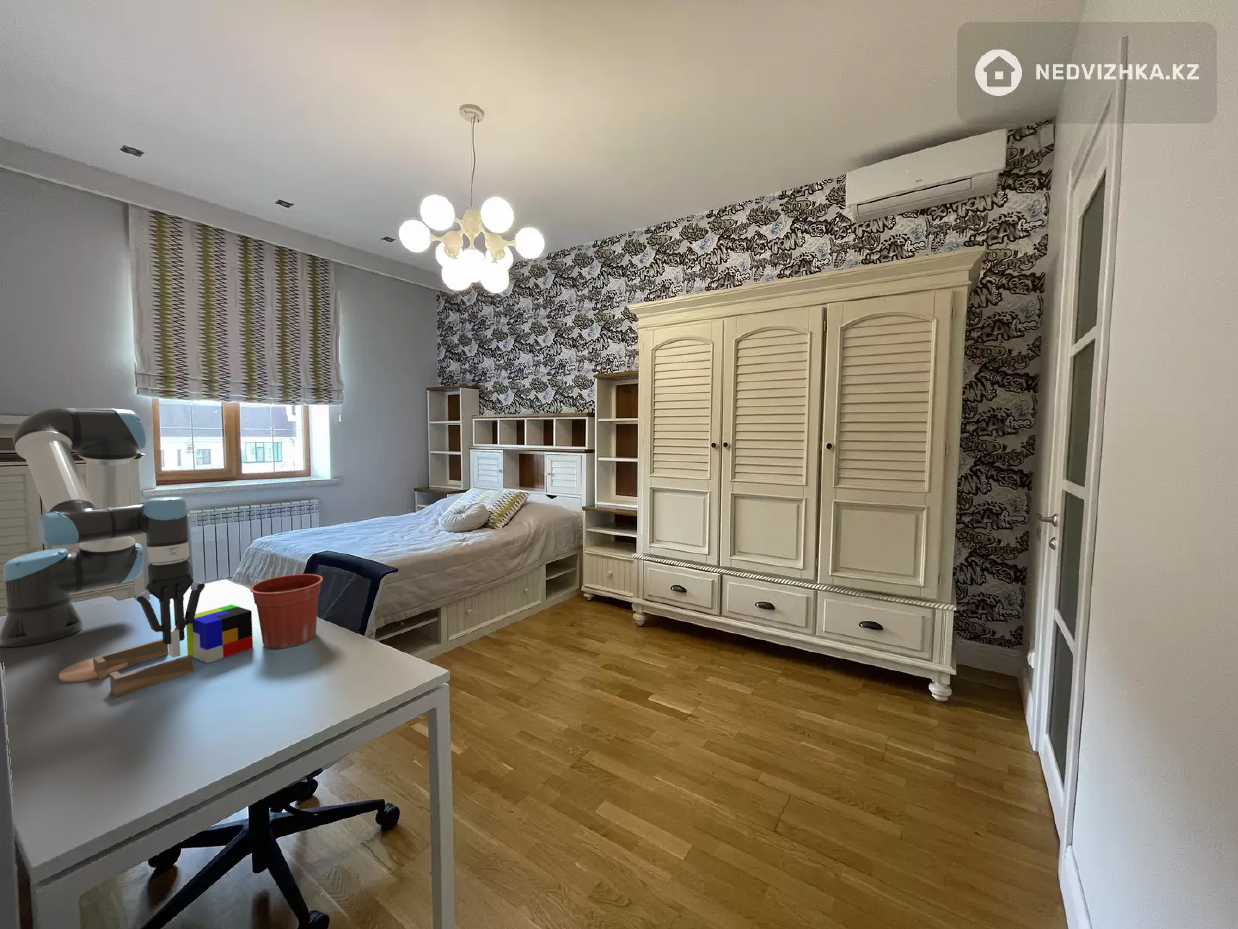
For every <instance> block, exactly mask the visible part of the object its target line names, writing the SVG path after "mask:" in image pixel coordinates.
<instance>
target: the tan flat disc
mask: <svg viewBox="0 0 1238 929" xmlns="http://www.w3.org/2000/svg"><path fill="white" fill-rule="evenodd" d="M93 658H94V657H92V658H88V659H85V660H82V661H79V662H76V663H73V664H72V665H71V664H70V665H69V666H67V667H65V668H64V669H62V670H61V671H59V673H58V679H59V681H60V682H63V683H76V682H77V683H78V682H85V681H90V680H94V679H99V678H98V674H97V673H96V672H95V671H94V665H93ZM126 667H129V666H128V662H126V663H122V664H119V665H116V666H112V667H109V668H106V671H107V676H110V673H113V672H117V671H118V672H119V671H121V670H124V669H125V668H126Z"/></svg>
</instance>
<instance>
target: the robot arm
mask: <svg viewBox="0 0 1238 929" xmlns="http://www.w3.org/2000/svg"><path fill="white" fill-rule="evenodd" d="M146 437H147V436H146V432H145V428H144V425H143V423H142V420H141V418H140V417H139V415H138V414H137V413H136V412H134V411H133V410H130V409H119V408H113V407H112V408H109V407H107V408H105V407H104V408H100V407H97V408H96V407H95V408H93V407H91V408H90V407H89V408H88V407H52V408H46V409H43V410H40V411H37V412H35V413H33V414H31V415H29V416H28V417H26V418H24V420H23V421H21V422H20V423H19V425H18V426H17V427H16V429H15V431H14V433H13V435H12V443H13V447H14V450H15V452H16V454H17V455H18V456H19V457H20V458H22V459H25V462H26V464H27V467H28V469H29V471H30V473H31V476H32V479H33V481H34V483H35V484H34V485H36V489H37V491H38V494H39V496H40V499H41V501H42V503H43V506H44V509H45V511H46V512H45V513H43V514H41V515H40V516H39V517H38V521H37V530H38V534H39V539H40V542H41V543H42V544H43V545H44V546H47V547H57V546H65V545H67V546H69V545H75V544H79V546H78V547H79V549H78V551H73V552H72V551H70V552H69V550H68V549H67V548H63V547H61V548H53V549H45V550H44V549H43V550H40V551H34V552H30V553H27V554H23V555H19V556H17V557H14V558H12V559H9V560H8V561H7V562H6V563H4V565H3V569H2V570H3V574H2V576H3V577H2V582H4V595H5V596H4V597H5V608H6V617H5V619H4V622H3V624H2V627H1V630H0V647H3V648H18V647H26V646H27V647H28V646H33V645H39V644H42V643H47V642H51V641H54V640H58V639H62V638H65V637H68V636H71V635H73V634H75V633H78V632H79V631H81V630H83V626H84V625H83V618H82V617H81V615H80V614H79V612H78V610H77V609H76V608H75V606H74V604H73V602H72V594H73V593H78V592H83V591H84V592H85V591H88V590H89V591H90V590H95V589H100V588H104V587H105V588H106V587H111V586H118V585H119V586H120V585H122V584H124V583H129V582H132V581H134V580H136V579H137V578H138V577H140V575H141V573H142V571H143V567H144V564H145V563H144V562H145V556H144V548H143V546H142V545H141V544H140V543H138V542H136V539H135V538H134V537H132V536H140V535H145V538H146V540H145V541H146V555H147V556H146V558H147V562H148V563H149V564H148V565H147V572H148V573H147V574H148V583H147V585H146V588H145V590H144V591H141V593H139V594H134V597H133V598H134V600H135V601H137V602H138V603H139V604H140V606H141V608H142V611H143V613H144V615H145V617H146V619H147V622H148V625H149V627H150V628H151V630H152V631H153V632H155V633H160V632H161V633H162V639H163V643H164V644H165V645H168V655H169V656H170V657H171V658H173V659H175V658H177V657H180V656H181V643H180V642H182V641H184V640H185V639H186V638H185V637H186V636H185V629H186V625H188V624H191V623H193V621H194V617H195V614H197V612H196V611H197V608H198V605H199V600H200V596H201V593H202V591H203V590H204V589H205V587H206V584H205V583H203V582H200V581H196V580H195V581H194V578H193V577H192V575H191V561H190V559H189V557H190V547H189V546H190V545H189V543H190V542H189V525H188V522H189V521H188V513H189V510H188V507H187V501H186V498H184V497H182V496H181V497H180V496H164V497H154V498H153V497H152V498H149V499H146V500H145V501H143V502H140V503H139V502H138V503H136V504H131V505H130V461H132V460H134V459H135V458H136V457H137V455H138V454H137V453H138V452H137V450H143V449H145V448H146V444H147V439H146ZM72 451H74V452H75V451H77V452H78V453H77V455H78V457H79V458H81V459H82V460H84V461H85V463H86V464H85V466H86V472H85V473H86V475H85V476H86V484H85V481H84V479H83V477H82V475H81V473H80V470H79V468H78V466H77V464H76V462H75V460H74V459H75V458H74V457H73V455H72V453H71V452H72ZM189 589H190V594H189V598H188V601H187V607H186V610H184V607H185V605H184V601H185V594H186V593H187V592H188V590H189ZM150 595H152V596H153V597H155V598H156V599H157V600H158V604H159V609H160V610H159V611H160V613H159V614H160V622H159V620H158V618H157V615H156V613H155V610H154V609H153V606H152V604H151V602H150V601H149V600H151V596H150ZM171 600H173V612H174V613H173V615H174V627H172V616H171Z"/></svg>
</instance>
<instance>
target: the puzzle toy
mask: <svg viewBox="0 0 1238 929" xmlns="http://www.w3.org/2000/svg"><path fill="white" fill-rule="evenodd" d="M252 613H253V612H252V610H250V609H248V608H244V607H242V606H241V607H240V606H237V605H234V604H232V603H231V604H228V605H225V606H224V605H223V606H221V607H217V608H213V609H209V610H205V611H202V612H196V613H195V617H194V621H193V623H191V624H188V625H186V627H185V629H186V643H187V644H186V646H187V647H186V648H187V650H186V651H187V655H192V656H193V659H194V658H195V659H197V660H199V661H201V662H204V663H206V664H208V663H211V662H215V661H218V660H221V659H225V658H227V657H230V656H232V655H236V654H239V653H241V652H244V651H247V650H250V649H252V648H254V640H253V616H252V615H253V614H252Z"/></svg>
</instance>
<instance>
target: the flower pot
mask: <svg viewBox="0 0 1238 929" xmlns="http://www.w3.org/2000/svg"><path fill="white" fill-rule="evenodd" d="M323 581H324V580H323V576H321V575H318V574H314V573H313V574H311V573H298V574H296V573H295V574H288V575H287V574H286V575H281V576H275V577H271V578H268V579H264V580H262V581H261V580H260V581H258V582H256V583H254V584H253V585H251V586H250V588H249V590H250V592H251V593H252V596H253V601H254V602H253V603H254V604H255V605H256V610H257V615H258V622H259V626H260V627H259V628H260V629H259V630H260V634H261V640H262V641H261V642H262V645H263V646H264V648H268V649H273V650H278V649H279V650H280V649H287V648H289V647H290V646H300V645H303V644H305V643H307V642H310V641H311V640H313V639H314V638H315V636H316V634H317V622H318V607H319V595H320V593H321V583H322V582H323Z"/></svg>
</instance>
